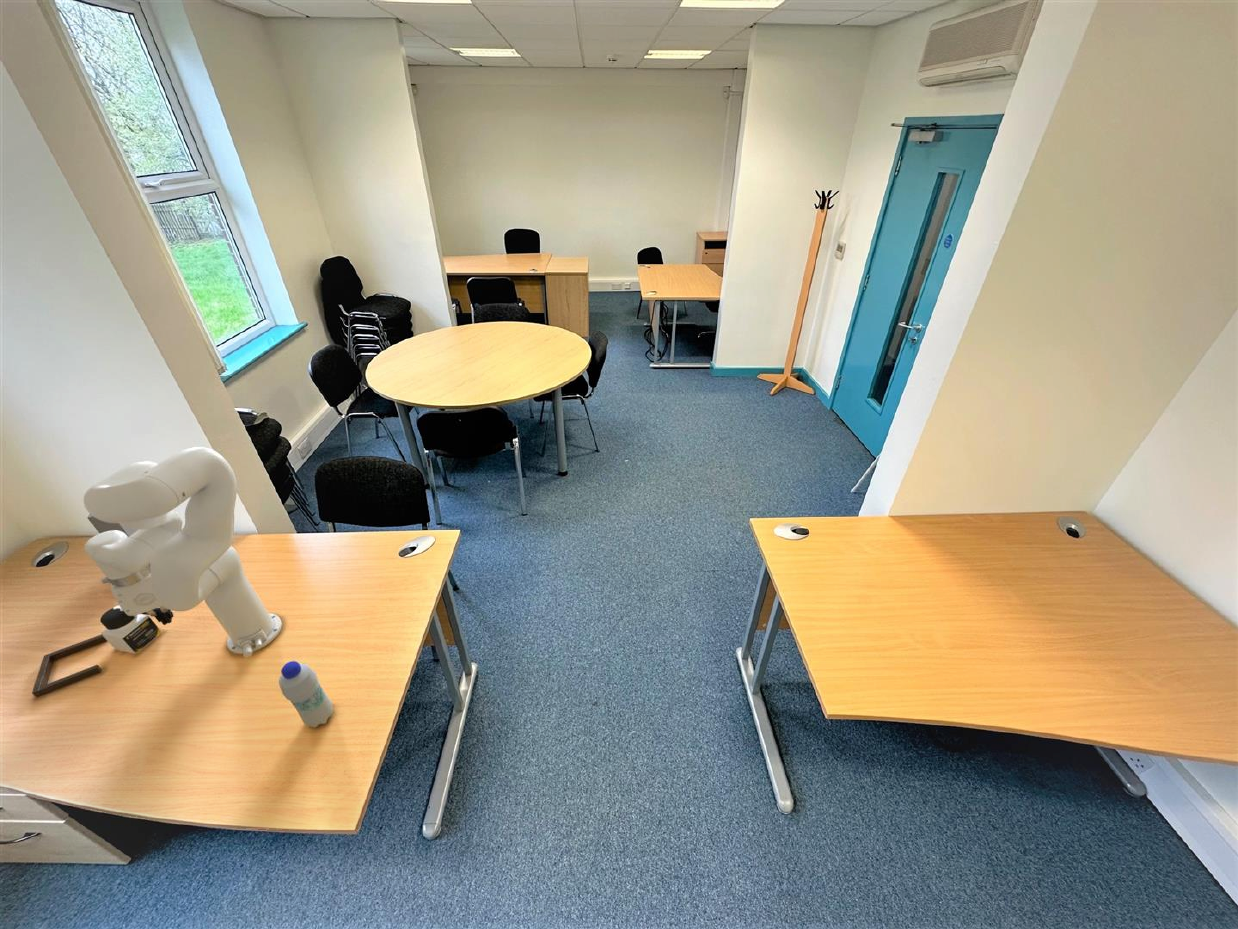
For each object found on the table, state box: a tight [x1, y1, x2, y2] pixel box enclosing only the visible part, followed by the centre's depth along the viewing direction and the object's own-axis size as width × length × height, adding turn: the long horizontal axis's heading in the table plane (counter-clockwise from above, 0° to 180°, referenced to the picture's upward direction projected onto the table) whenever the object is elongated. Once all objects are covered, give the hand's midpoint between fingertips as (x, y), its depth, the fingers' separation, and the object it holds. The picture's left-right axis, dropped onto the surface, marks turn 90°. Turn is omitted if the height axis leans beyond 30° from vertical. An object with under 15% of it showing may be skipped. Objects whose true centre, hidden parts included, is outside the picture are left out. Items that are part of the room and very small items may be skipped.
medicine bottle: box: [99, 604, 163, 655], centre depth 128 cm, size 7×7×12 cm
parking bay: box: [31, 633, 108, 699], centre depth 124 cm, size 13×12×2 cm
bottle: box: [278, 660, 334, 728], centre depth 108 cm, size 7×7×20 cm
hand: (168, 620), depth 133 cm, fingers closed
